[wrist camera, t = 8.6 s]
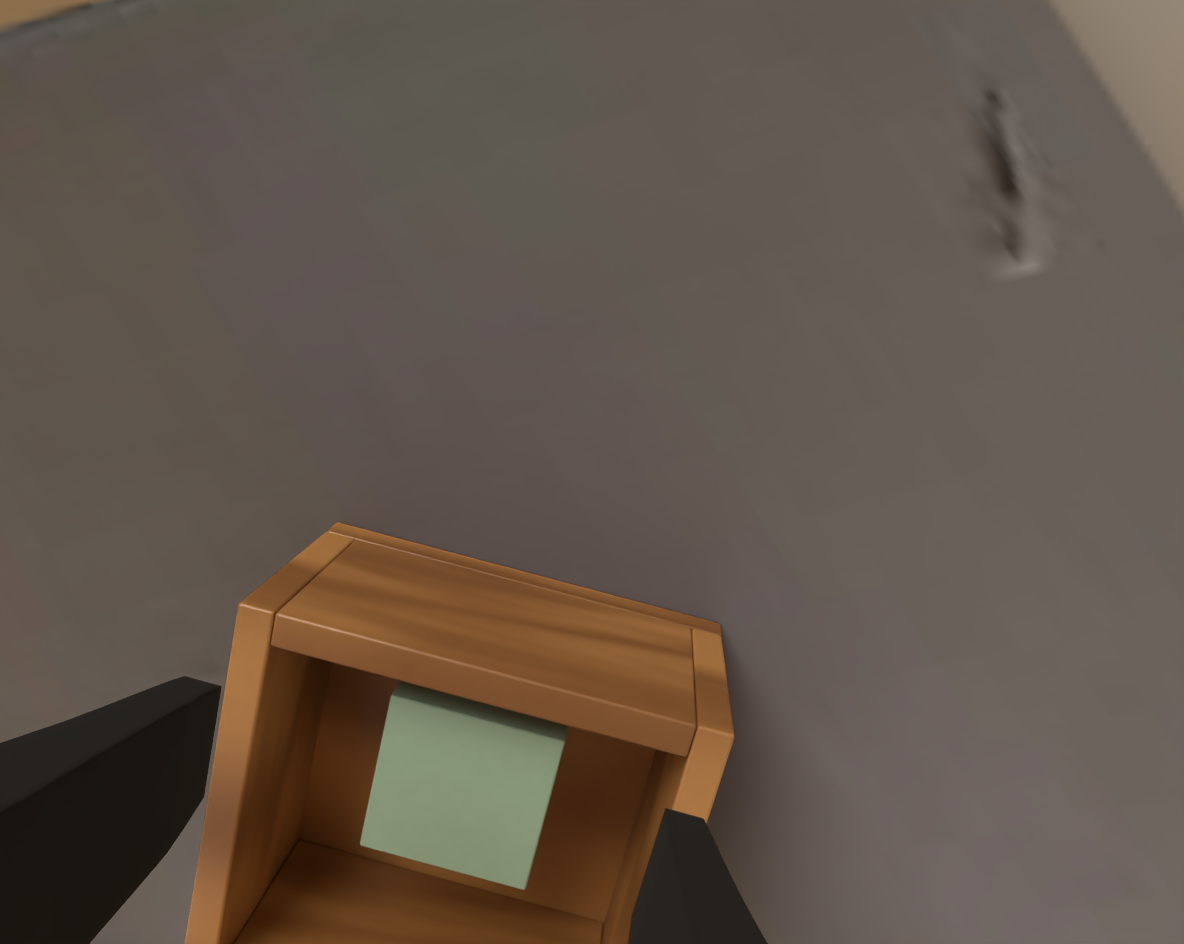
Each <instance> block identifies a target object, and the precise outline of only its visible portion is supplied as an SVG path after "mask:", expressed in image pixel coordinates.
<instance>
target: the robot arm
mask: <svg viewBox="0 0 1184 944" xmlns="http://www.w3.org/2000/svg"><path fill="white" fill-rule="evenodd" d="M220 693H221V686H219V685H215V684H211V683H208V682H204V681H200V680H197V679H193V678H189V677H186V676H184V677H180V678H177V679H174V680H171V681H168V682H166V683H163V684H160V685H158V686H155V687H152V688H150V689H147V690H145V691H142V692H140V693H137V694H134V695H132V696H129V697H127V698H124V699H122V700H119V701H117V702H114V703H111V704H109V705H106V706H104V707H101V708H98V709H96V710H93V711H91V712H88V713H85V714H83V715H80V716H78V717H75V718H72V719H70V720H67V721H64V722H61V723H58V724H55V725H52V726H49V727H46V728H44V729H41V730H38V731H35V732H32V733H29V734H26V735H23V736H20V737H17V738H14V739H11V740H8V741H5V742H2V743H0V944H89V943H90V942H91V941H92V940H93V939H94V938H95V936H96V935H97V934H98V933H99V932H100V931H101V929H102V928H103V927H104V926H105V925H106V924H107V922H108V921H109V920H110V919H111V918H112V917H113V916H114V914H115V913H116V912H117V911H118V910H119V909H120V907H121V906H122V905H123V904H124V903H125V902H126V901H127V899H128V898H129V897H130V896H131V895H132V894H133V892H134V891H135V890H136V889H137V888H138V887H139V885H140V884H141V883H142V882H143V881H144V880H145V878H146V877H147V876H148V875H149V874H150V872H151V871H152V870H153V869H154V868H155V867H156V865H157V864H158V863H159V862H160V861H161V859H162V858H163V857H164V856H165V855H166V853H167V852H168V851H169V849H170V848H171V846H172V845H173V843H174V842H175V840H176V839H177V838H178V836H179V835H180V833H181V832H182V830H183V829H184V827H185V826H186V824H187V823H188V821H189V819H190V818H191V816H192V815H193V813H194V812H195V810H196V808H197V807H198V805H199V804H200V802H201V801H202V799H203V798H204V793H205V787H206V780H207V774H208V768H209V761H210V755H211V749H212V743H213V736H214V730H215V724H216V718H217V711H218V705H219V699H220ZM628 944H768V943H767V942H766V940H765V938H764V937H763V935H762V933H761V931H760V930H759V928H758V926H757V924H756V923H755V921H754V919H753V917H752V915H751V913H750V911H749V910H748V908H747V906H746V904H745V902H744V900H743V898H742V897H741V895H740V893H739V891H738V889H737V887H736V885H735V883H734V881H733V879H732V877H731V875H730V873H729V871H728V869H727V867H726V864H725V862H724V860H723V858H722V856H721V854H720V852H719V850H718V847H717V845H716V843H715V841H714V839H713V836H712V834H711V832H710V830H709V828H708V826H707V824H706V822H705V820H704V819H703V818H700V817H697V816H693V815H689V814H686V813H682V812H678V811H675V810H671V809H667V808H665V810H664V814H663V817H662V820H661V823H660V826H659V830H658V833H657V836H656V839H655V842H654V845H653V849H652V852H651V855H650V858H649V861H648V865H647V868H646V871H645V874H644V877H643V881H642V884H641V887H640V890H639V893H638V897H637V900H636V903H635V906H634V909H633V913H632V916H631V924H630V932H629V940H628Z"/></svg>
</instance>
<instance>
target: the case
mask: <svg viewBox="0 0 1184 944" xmlns="http://www.w3.org/2000/svg"><path fill="white" fill-rule="evenodd" d="M721 637H722V635H721V627H720V624H719V623H716V622H712V621H709V620H705V619H701V618H697V617H694V616H690V615H686V614H682V613H678V612H675V611H671V610H667V609H663V608H660V607H656V606H652V605H648V604H644V603H641V602H637V601H633V600H629V599H626V598H622V597H618V596H614V595H611V594H607V593H603V592H599V591H595V590H592V589H588V588H584V587H580V586H577V585H573V584H569V583H565V582H561V581H558V580H554V579H550V578H546V577H543V576H539V575H535V574H531V573H527V572H524V571H520V570H516V569H512V568H509V567H505V566H501V565H497V564H494V563H490V562H486V561H482V560H478V559H475V558H471V557H467V556H463V555H460V554H456V553H452V552H448V551H444V550H441V549H437V548H433V547H429V546H426V545H422V544H418V543H414V542H411V541H407V540H403V539H399V538H395V537H392V536H388V535H384V534H380V533H377V532H373V531H369V530H365V529H361V528H358V527H354V526H350V525H346V524H343V523H339V522H337V523H336V524H334V525H333V526H332V527H331V528H330V529H328V530H327V532H325V533H324V534H323V535H322V536H320V537H319V538H318V539H317V540H316V541H314V542H313V543H312V544H311V545H309V546H308V547H307V548H306V549H305V550H303V551H302V552H301V553H300V554H298V555H297V556H296V557H295V558H294V559H292V560H291V561H290V562H289V563H288V564H286V565H285V566H284V567H283V568H281V569H280V570H279V571H278V572H277V573H275V574H274V575H273V576H272V577H270V578H269V579H268V580H267V581H266V582H264V583H263V584H262V585H261V586H259V587H258V588H257V589H256V590H255V591H253V592H252V593H251V594H250V595H248V596H247V597H246V598H245V599H244V600H242V601H241V602H240V603H239V605H238V610H237V617H236V623H235V629H234V636H233V642H232V648H231V654H230V661H229V667H228V673H227V680H226V686H225V692H224V699H223V705H222V711H221V718H220V724H219V730H218V737H217V743H216V749H215V755H214V762H213V768H212V774H211V781H210V787H209V793H208V800H207V806H206V812H205V819H204V825H203V831H202V837H201V844H200V850H199V856H198V863H197V869H196V875H195V882H194V888H193V894H192V901H191V907H190V913H189V919H188V926H187V932H186V938H185V944H628V940H629V932H630V924H631V916H632V913H633V909H634V906H635V903H636V900H637V897H638V893H639V890H640V887H641V884H642V881H643V877H644V874H645V871H646V868H647V865H648V861H649V858H650V855H651V852H652V849H653V845H654V842H655V839H656V836H657V833H658V830H659V826H660V823H661V820H662V817H663V814H664V810H665V808H667V809H671V810H675V811H678V812H682V813H686V814H689V815H693V816H697V817H700V818H703V819H704V820H705V822H706V824H707V822H708V818H709V815H710V812H711V809H712V806H713V803H714V800H715V797H716V794H717V791H718V788H719V784H720V781H721V778H722V775H723V772H724V769H725V766H726V763H727V760H728V757H729V754H730V750H731V747H732V744H733V741H734V738H735V736H734V729H733V721H732V714H731V706H730V698H729V691H728V683H727V676H726V668H725V661H724V653H723V646H722V638H721ZM400 681H403V682H407V683H410V684H414V685H418V686H422V687H425V688H429V689H433V690H436V691H440V692H444V693H448V694H451V695H455V696H459V697H463V698H466V699H470V700H474V701H477V702H481V703H485V704H489V705H492V706H496V707H500V708H504V709H507V710H511V711H515V712H518V713H522V714H526V715H530V716H533V717H537V718H541V719H545V720H548V721H552V722H556V723H559V724H563V725H567V726H569V727H568V732H567V737H566V742H565V746H564V749H563V753H562V757H561V760H560V764H559V768H558V772H557V775H556V779H555V783H554V786H553V790H552V794H551V797H550V801H549V805H548V809H547V812H546V816H545V820H544V823H543V827H542V831H541V834H540V838H539V842H538V846H537V849H536V853H535V857H534V860H533V864H532V868H531V872H530V875H529V879H528V883H527V886H526V889H525V890H521V889H517V888H514V887H510V886H506V885H503V884H499V883H495V882H492V881H488V880H484V879H481V878H477V877H473V876H470V875H466V874H462V873H459V872H455V871H451V870H448V869H444V868H440V867H437V866H433V865H429V864H426V863H422V862H418V861H415V860H411V859H407V858H404V857H400V856H396V855H393V854H389V853H385V852H382V851H378V850H374V849H371V848H367V847H363V846H361V845H360V840H361V835H362V830H363V826H364V821H365V816H366V811H367V807H368V802H369V797H370V792H371V788H372V783H373V778H374V773H375V769H376V764H377V759H378V754H379V750H380V745H381V740H382V735H383V731H384V726H385V721H386V717H387V712H388V707H389V702H390V698H391V695H392V694H393V692H394V690H395V689H396V687H397V686H398V684H399V682H400Z"/></svg>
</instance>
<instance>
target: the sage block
mask: <svg viewBox="0 0 1184 944" xmlns="http://www.w3.org/2000/svg"><path fill="white" fill-rule="evenodd" d="M568 727H569V726H567V725H563V724H559V723H556V722H552V721H548V720H545V719H541V718H537V717H533V716H530V715H526V714H522V713H518V712H515V711H511V710H507V709H504V708H500V707H496V706H492V705H489V704H485V703H481V702H477V701H474V700H470V699H466V698H463V697H459V696H455V695H451V694H448V693H444V692H440V691H436V690H433V689H429V688H425V687H422V686H418V685H414V684H410V683H407V682H403V681H400V682H399V684H398V686H397V687H396V689H395V690H394V692H393V694H392V695H391V698H390V702H389V707H388V712H387V717H386V721H385V726H384V731H383V735H382V740H381V745H380V750H379V754H378V759H377V764H376V769H375V773H374V778H373V783H372V788H371V792H370V797H369V802H368V807H367V811H366V816H365V821H364V826H363V830H362V835H361V840H360V845H361V846H363V847H367V848H371V849H374V850H378V851H382V852H385V853H389V854H393V855H396V856H400V857H404V858H407V859H411V860H415V861H418V862H422V863H426V864H429V865H433V866H437V867H440V868H444V869H448V870H451V871H455V872H459V873H462V874H466V875H470V876H473V877H477V878H481V879H484V880H488V881H492V882H495V883H499V884H503V885H506V886H510V887H514V888H517V889H521V890H525V889H526V886H527V883H528V879H529V875H530V872H531V868H532V864H533V860H534V857H535V853H536V849H537V846H538V842H539V838H540V834H541V831H542V827H543V823H544V820H545V816H546V812H547V809H548V805H549V801H550V797H551V794H552V790H553V786H554V783H555V779H556V775H557V772H558V768H559V764H560V760H561V757H562V753H563V749H564V746H565V742H566V737H567V732H568Z"/></svg>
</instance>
